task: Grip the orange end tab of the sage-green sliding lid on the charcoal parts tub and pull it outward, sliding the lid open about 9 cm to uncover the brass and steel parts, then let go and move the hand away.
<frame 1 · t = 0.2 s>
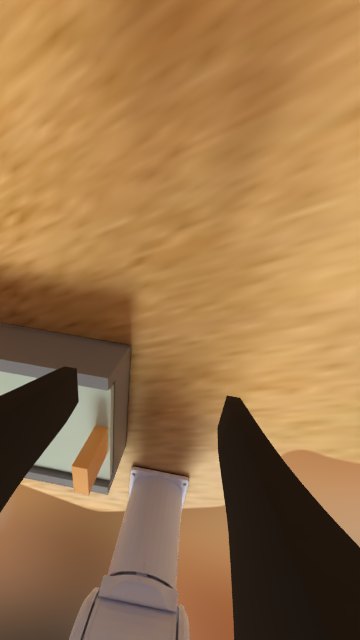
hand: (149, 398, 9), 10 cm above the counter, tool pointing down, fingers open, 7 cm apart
lid: (9, 437, 17), point 6 cm above the counter, slide at 0.0 cm
parts tub: (58, 388, 23), on the counter
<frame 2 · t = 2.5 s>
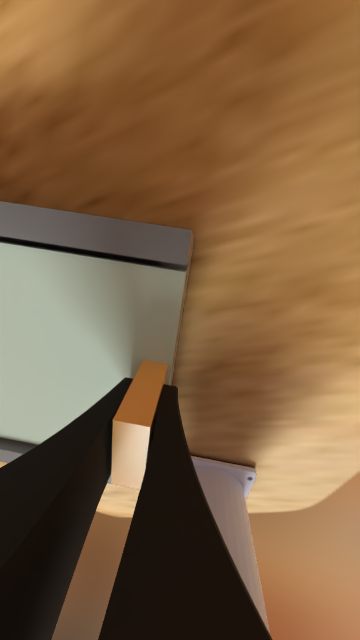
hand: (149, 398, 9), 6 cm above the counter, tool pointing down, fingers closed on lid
parts tub: (68, 327, 15), on the counter
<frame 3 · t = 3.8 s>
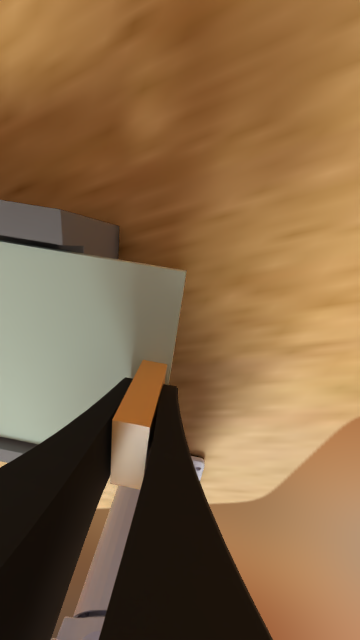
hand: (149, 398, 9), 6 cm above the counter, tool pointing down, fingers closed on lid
parts tub: (8, 315, 15), on the counter
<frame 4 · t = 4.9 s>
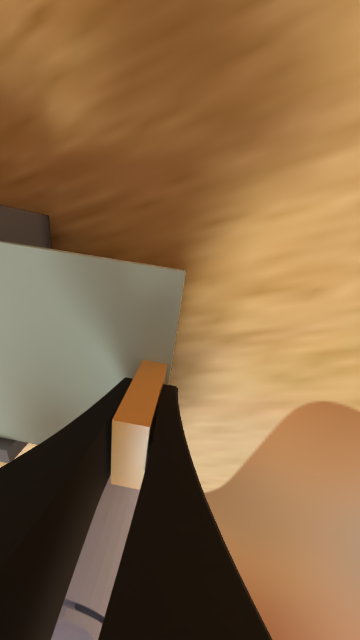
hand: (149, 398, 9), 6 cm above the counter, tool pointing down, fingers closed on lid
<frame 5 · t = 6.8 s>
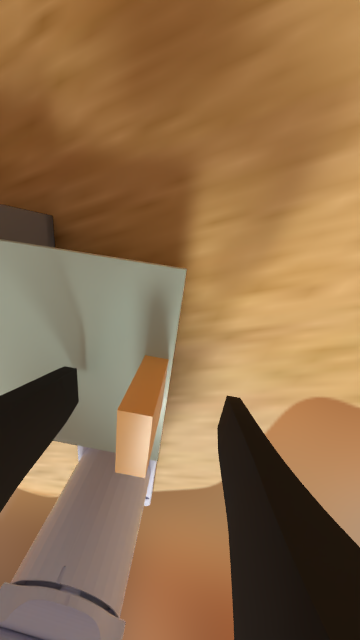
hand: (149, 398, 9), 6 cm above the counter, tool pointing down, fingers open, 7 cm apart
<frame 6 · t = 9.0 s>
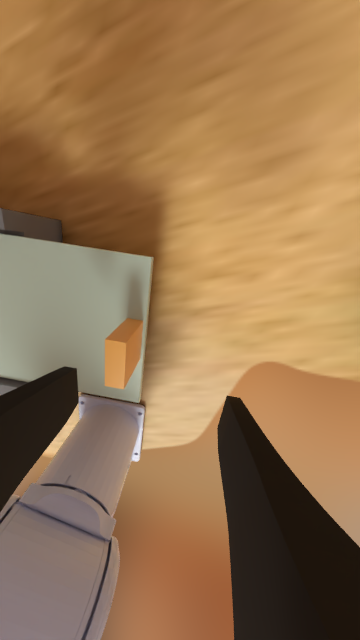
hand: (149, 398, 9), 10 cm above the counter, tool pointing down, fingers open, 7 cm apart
lid: (18, 329, 13), point 6 cm above the counter, slide at 9.3 cm
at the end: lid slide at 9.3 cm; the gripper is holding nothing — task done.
